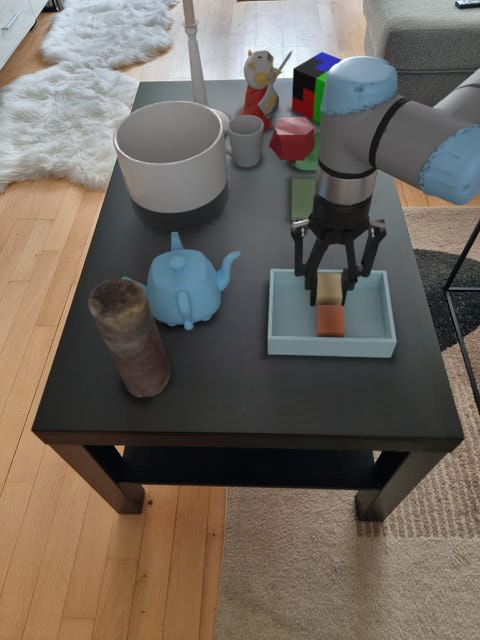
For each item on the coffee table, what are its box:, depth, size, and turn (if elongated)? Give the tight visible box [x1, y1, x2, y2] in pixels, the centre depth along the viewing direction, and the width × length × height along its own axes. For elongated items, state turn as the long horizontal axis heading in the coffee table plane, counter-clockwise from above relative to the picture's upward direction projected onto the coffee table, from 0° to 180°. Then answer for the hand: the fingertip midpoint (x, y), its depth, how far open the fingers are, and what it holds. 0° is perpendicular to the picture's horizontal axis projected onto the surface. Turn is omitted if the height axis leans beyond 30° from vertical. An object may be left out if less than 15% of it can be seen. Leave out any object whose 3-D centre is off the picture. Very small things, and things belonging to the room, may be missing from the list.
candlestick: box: [181, 0, 231, 136], centre depth 102 cm, size 13×13×30 cm
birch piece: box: [315, 274, 342, 313], centre depth 79 cm, size 4×5×4 cm
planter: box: [112, 100, 230, 232], centre depth 91 cm, size 19×19×18 cm
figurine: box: [238, 49, 293, 131], centre depth 109 cm, size 13×12×15 cm
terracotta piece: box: [315, 305, 345, 338], centre depth 76 cm, size 4×5×4 cm
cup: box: [223, 115, 264, 168], centre depth 103 cm, size 8×10×8 cm
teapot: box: [121, 231, 242, 331], centre depth 79 cm, size 15×14×11 cm
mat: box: [290, 178, 315, 221], centre depth 97 cm, size 12×12×1 cm
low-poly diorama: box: [268, 116, 320, 172], centre depth 102 cm, size 15×20×9 cm
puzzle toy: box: [291, 51, 342, 124], centre depth 112 cm, size 10×10×10 cm
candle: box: [87, 278, 172, 398], centre depth 67 cm, size 8×7×20 cm
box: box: [267, 268, 397, 359], centre depth 78 cm, size 19×14×4 cm
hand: (326, 299), depth 81 cm, fingers open, 4 cm apart
